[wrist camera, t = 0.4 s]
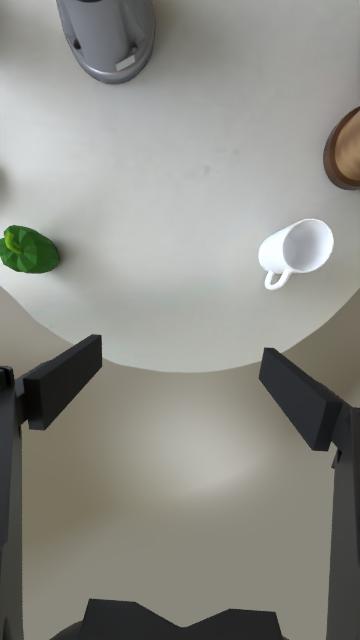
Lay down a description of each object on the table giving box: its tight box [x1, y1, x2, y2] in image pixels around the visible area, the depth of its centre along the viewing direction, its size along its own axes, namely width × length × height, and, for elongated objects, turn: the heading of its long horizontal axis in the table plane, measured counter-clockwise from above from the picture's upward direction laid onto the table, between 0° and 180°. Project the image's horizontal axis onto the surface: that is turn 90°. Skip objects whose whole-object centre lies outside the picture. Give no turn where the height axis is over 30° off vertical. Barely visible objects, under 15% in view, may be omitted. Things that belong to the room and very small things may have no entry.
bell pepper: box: [0, 225, 59, 274], centre depth 36 cm, size 8×8×10 cm
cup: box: [259, 218, 334, 290], centre depth 35 cm, size 8×12×10 cm
